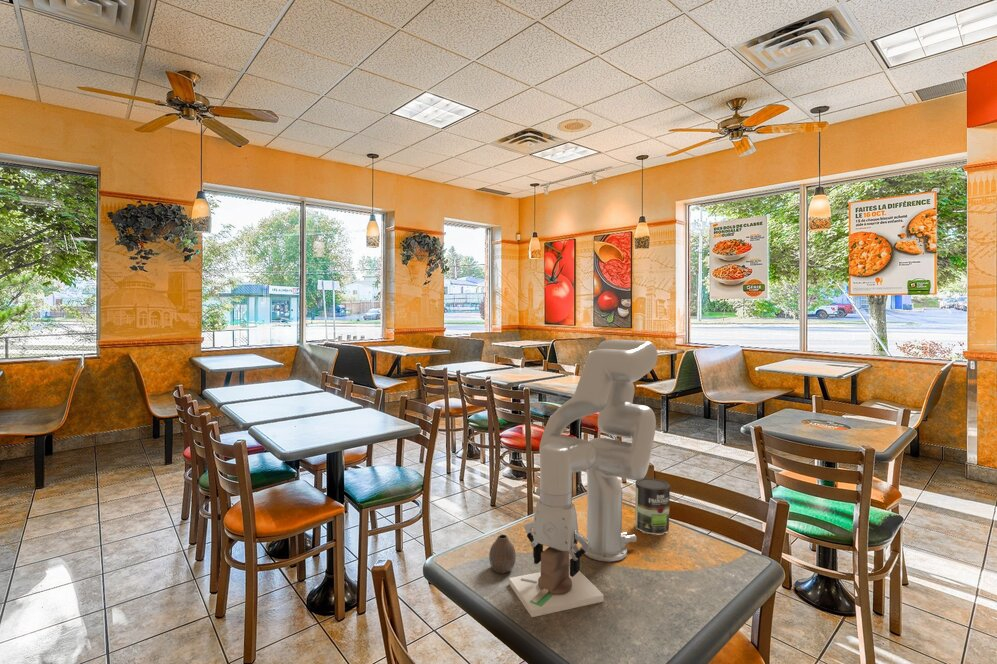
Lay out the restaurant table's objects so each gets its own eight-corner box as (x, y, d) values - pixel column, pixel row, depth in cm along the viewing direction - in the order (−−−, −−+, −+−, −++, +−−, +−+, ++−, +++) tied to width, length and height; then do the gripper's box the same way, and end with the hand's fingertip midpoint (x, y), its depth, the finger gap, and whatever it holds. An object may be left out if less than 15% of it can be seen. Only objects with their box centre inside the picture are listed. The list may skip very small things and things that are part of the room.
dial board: (574, 571, 127) (574, 565, 127) (603, 601, 114) (603, 594, 114) (509, 583, 121) (509, 577, 121) (531, 617, 108) (531, 609, 108)
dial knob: (549, 572, 123) (549, 537, 123) (578, 583, 118) (578, 546, 118) (519, 595, 113) (519, 558, 112) (549, 608, 108) (550, 569, 107)
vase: (513, 578, 124) (513, 543, 123) (486, 575, 125) (486, 541, 125) (517, 564, 130) (517, 531, 130) (492, 561, 132) (492, 529, 132)
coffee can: (676, 534, 149) (676, 488, 148) (644, 537, 147) (645, 490, 146) (658, 520, 159) (659, 476, 158) (628, 522, 157) (629, 478, 156)
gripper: (516, 494, 119) (517, 563, 119) (582, 511, 108) (582, 586, 109) (533, 485, 125) (533, 551, 125) (596, 500, 115) (596, 571, 115)
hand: (556, 567), depth 117 cm, fingers open, 9 cm apart
